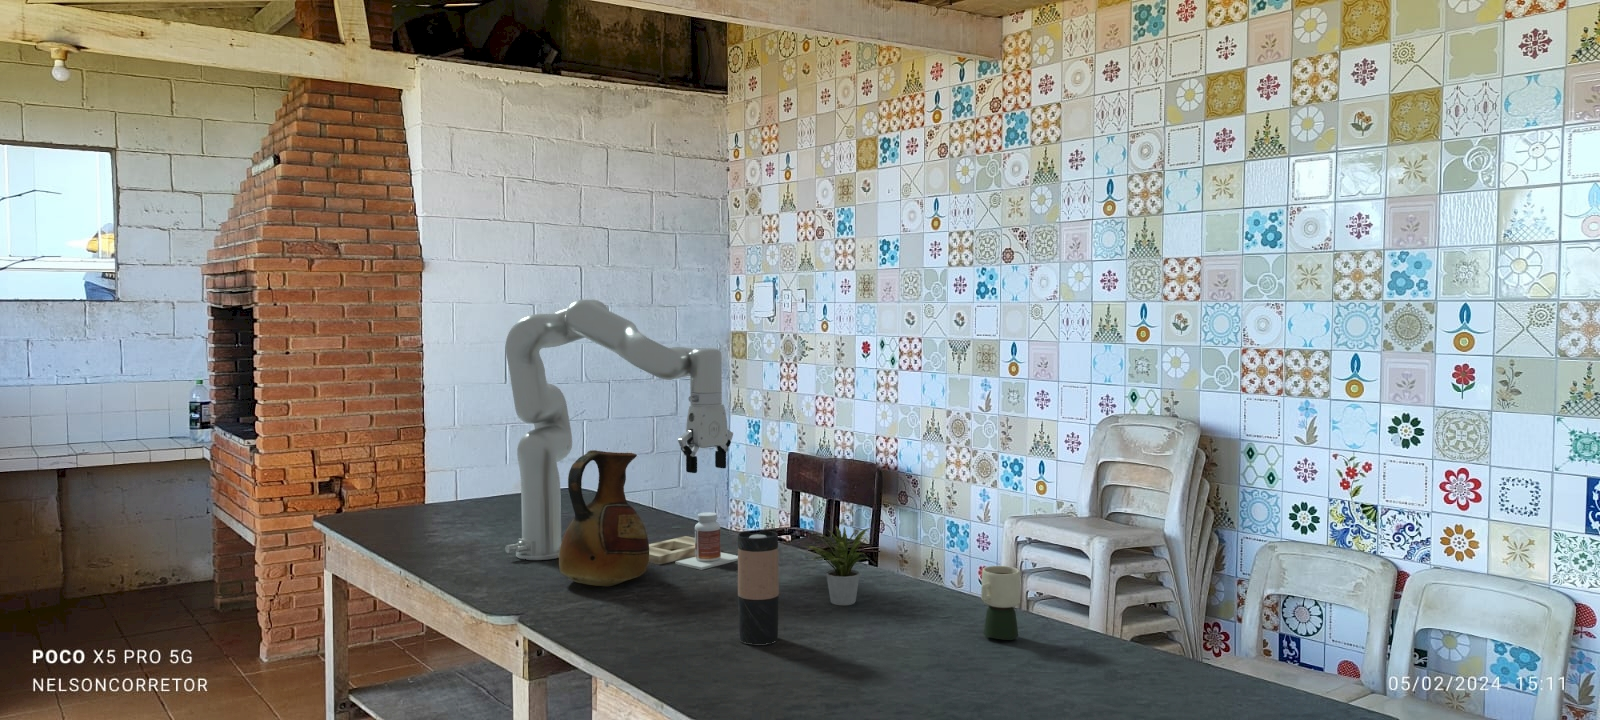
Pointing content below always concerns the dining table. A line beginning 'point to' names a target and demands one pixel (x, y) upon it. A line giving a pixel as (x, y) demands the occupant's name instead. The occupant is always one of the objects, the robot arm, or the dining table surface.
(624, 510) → the ceramic pitcher
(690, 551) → the wooden rectangular frame
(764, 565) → the travel mug
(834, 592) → the house plant
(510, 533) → the dining table surface
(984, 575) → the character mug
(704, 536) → the pill bottle
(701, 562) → the mat
